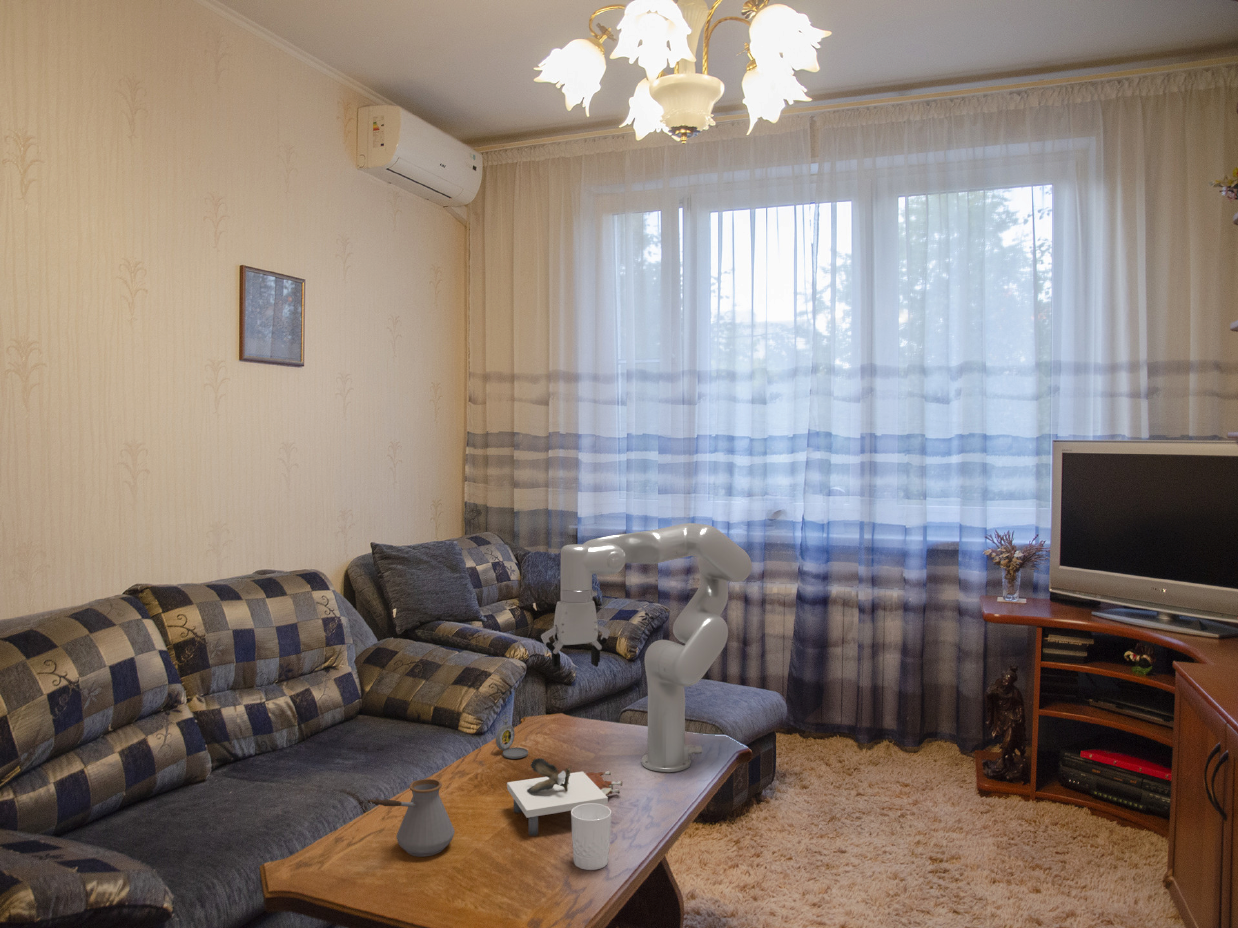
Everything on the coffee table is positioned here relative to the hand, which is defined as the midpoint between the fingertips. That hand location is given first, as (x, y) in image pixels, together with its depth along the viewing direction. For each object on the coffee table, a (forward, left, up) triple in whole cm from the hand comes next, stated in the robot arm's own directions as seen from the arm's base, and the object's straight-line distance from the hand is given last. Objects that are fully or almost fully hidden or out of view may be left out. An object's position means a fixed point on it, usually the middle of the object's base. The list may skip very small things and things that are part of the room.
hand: (575, 667), depth 206 cm
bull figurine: (-8, +9, -26) cm, 29 cm away
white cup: (+10, +38, -28) cm, 49 cm away
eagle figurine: (+12, +16, -22) cm, 30 cm away
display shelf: (+10, +16, -28) cm, 34 cm away
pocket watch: (+9, -25, -28) cm, 39 cm away
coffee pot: (+43, +23, -28) cm, 56 cm away
